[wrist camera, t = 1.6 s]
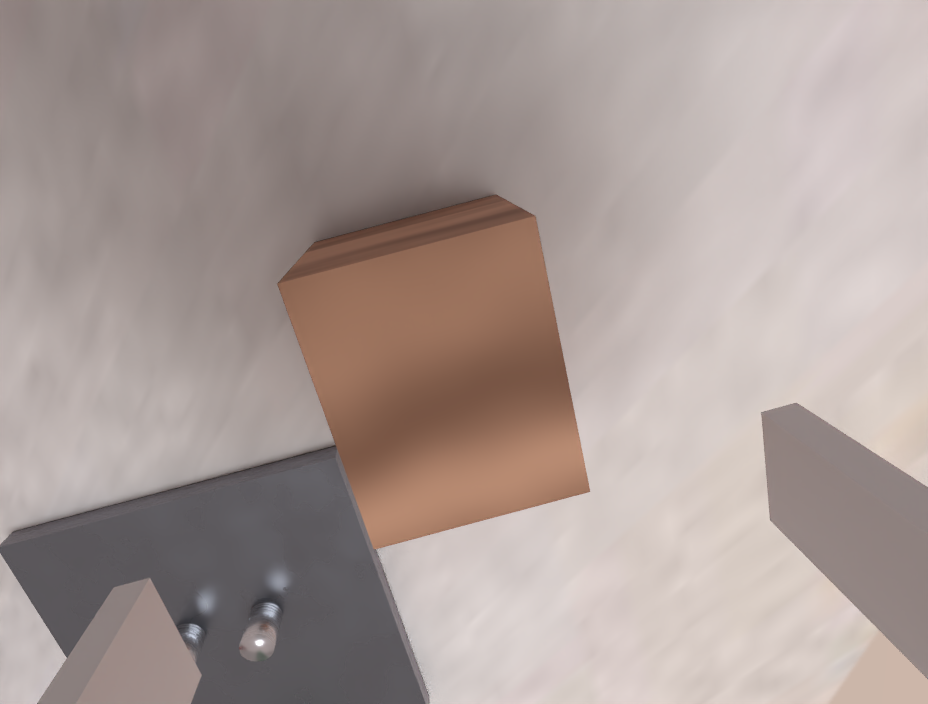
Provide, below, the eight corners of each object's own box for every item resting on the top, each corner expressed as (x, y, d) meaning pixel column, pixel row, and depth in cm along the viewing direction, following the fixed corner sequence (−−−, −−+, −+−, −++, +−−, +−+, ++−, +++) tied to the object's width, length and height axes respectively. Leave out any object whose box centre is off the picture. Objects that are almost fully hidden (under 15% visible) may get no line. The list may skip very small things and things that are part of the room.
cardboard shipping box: (314, 242, 25) (277, 283, 18) (496, 194, 25) (535, 215, 18) (381, 443, 29) (373, 549, 21) (541, 401, 29) (590, 491, 21)
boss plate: (13, 531, 28) (-35, 579, 25) (338, 445, 29) (330, 482, 25) (159, 770, 34) (135, 832, 31) (429, 697, 34) (431, 752, 31)
